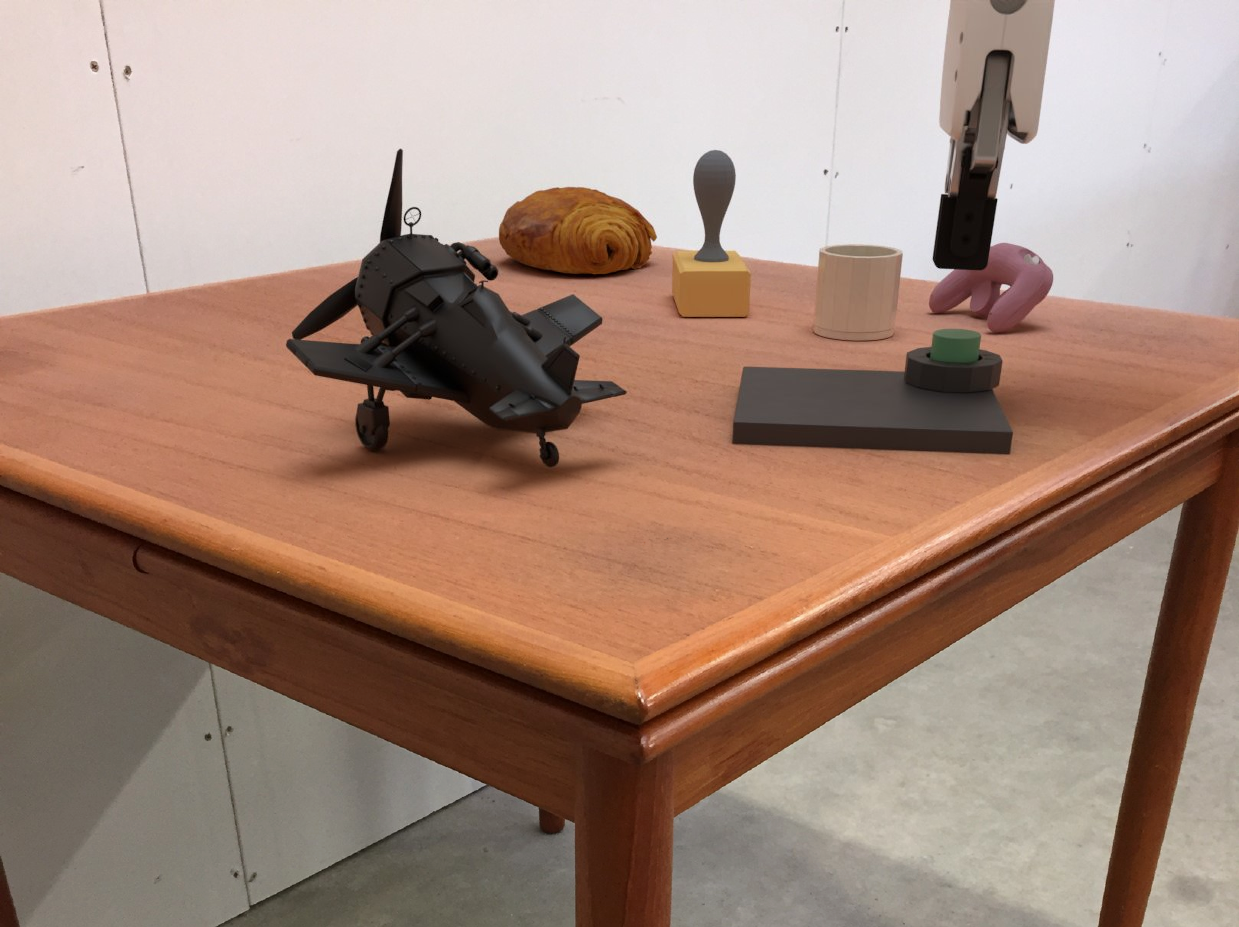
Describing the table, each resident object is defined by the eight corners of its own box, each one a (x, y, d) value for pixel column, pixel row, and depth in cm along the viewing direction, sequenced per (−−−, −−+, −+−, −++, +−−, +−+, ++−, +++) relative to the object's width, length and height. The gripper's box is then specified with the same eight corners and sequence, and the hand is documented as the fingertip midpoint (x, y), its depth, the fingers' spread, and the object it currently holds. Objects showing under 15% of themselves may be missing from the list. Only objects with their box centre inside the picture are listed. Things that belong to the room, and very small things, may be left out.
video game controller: (1028, 351, 107) (1074, 265, 105) (988, 328, 105) (1035, 240, 102) (957, 327, 115) (999, 247, 113) (919, 305, 112) (961, 222, 110)
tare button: (974, 357, 87) (978, 329, 86) (979, 368, 84) (983, 339, 84) (927, 356, 87) (931, 327, 86) (931, 366, 85) (935, 337, 84)
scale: (989, 394, 89) (995, 347, 88) (1017, 456, 77) (1026, 403, 76) (742, 385, 91) (744, 339, 89) (732, 445, 79) (734, 393, 77)
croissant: (547, 306, 125) (548, 215, 120) (479, 257, 135) (477, 171, 130) (680, 289, 131) (687, 201, 126) (605, 242, 141) (608, 160, 136)
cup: (891, 325, 108) (900, 245, 105) (895, 342, 103) (904, 258, 100) (813, 323, 109) (819, 243, 106) (813, 339, 104) (819, 256, 100)
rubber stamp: (749, 317, 111) (757, 155, 104) (679, 317, 110) (683, 155, 104) (736, 295, 119) (743, 144, 113) (671, 295, 119) (675, 144, 113)
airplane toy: (510, 386, 90) (500, 133, 82) (711, 448, 78) (722, 158, 70) (241, 441, 79) (199, 154, 71) (426, 523, 67) (401, 188, 59)
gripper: (1107, -100, 67) (1038, 292, 76) (1059, -83, 79) (1005, 251, 89) (953, -103, 67) (904, 286, 77) (930, -85, 80) (891, 246, 90)
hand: (958, 266), depth 83 cm, fingers closed
